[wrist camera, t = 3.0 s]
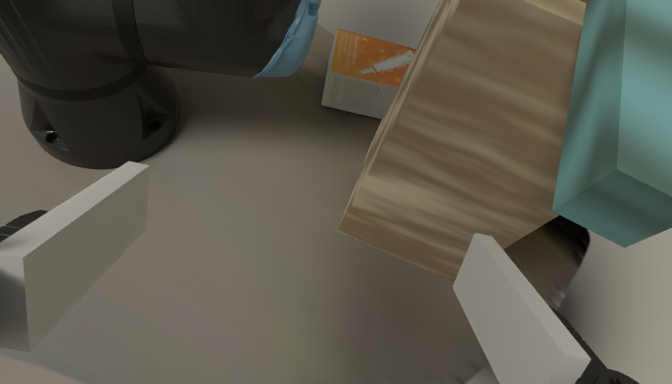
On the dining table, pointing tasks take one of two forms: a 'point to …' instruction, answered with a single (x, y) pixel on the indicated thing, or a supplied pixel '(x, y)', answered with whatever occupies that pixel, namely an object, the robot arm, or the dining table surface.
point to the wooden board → (470, 133)
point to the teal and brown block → (620, 123)
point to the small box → (364, 73)
